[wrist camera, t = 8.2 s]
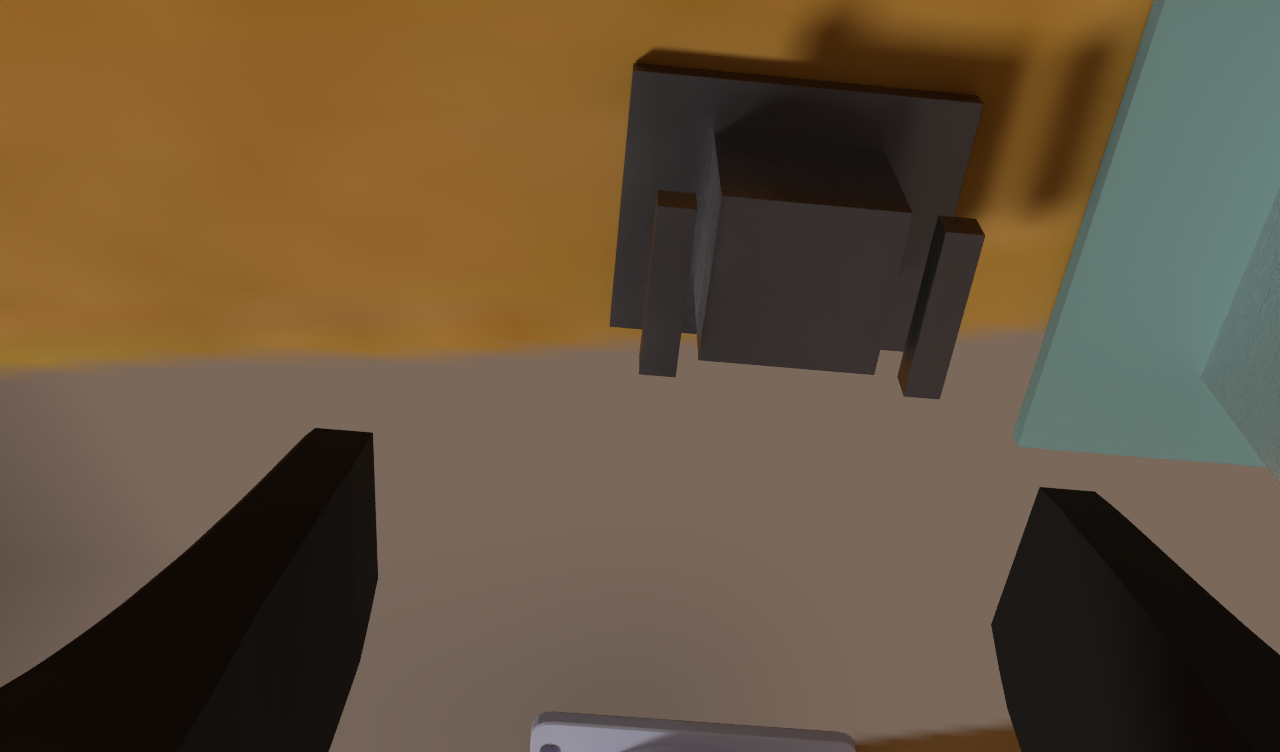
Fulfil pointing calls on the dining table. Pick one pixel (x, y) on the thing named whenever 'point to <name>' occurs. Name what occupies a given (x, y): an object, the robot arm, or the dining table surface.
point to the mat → (1165, 243)
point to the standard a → (795, 223)
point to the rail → (1253, 349)
